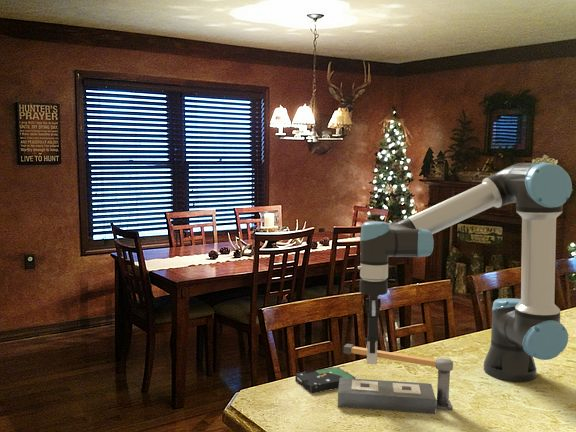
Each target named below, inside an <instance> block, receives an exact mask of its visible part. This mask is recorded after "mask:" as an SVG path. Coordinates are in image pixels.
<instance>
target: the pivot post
mask: <svg viewBox="0 0 576 432" xmlns="http://www.w3.org/2000/svg"><path fill="white" fill-rule="evenodd" d="M450 377H451V371H441V370H438V369H437V389H436V390H437V391H436V407H435V410H439V411H453V405H452V402H451V400H449V399H450Z"/></svg>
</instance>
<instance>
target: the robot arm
mask: <svg viewBox="0 0 576 432" xmlns="http://www.w3.org/2000/svg"><path fill="white" fill-rule="evenodd" d="M572 190H573V185H572V178H571V177H570V175H569V173H568V172H567V171H566V170H565V168H563V167H562V166H560V165H558V164H555V163H550V162H546V161H545V162H544V161H542V162H519V163H514V164H512V165H510V166H507V167H505V168H503V169H501V170H500V171H497V172H495V173H493V174H491V175H489V176H487V177H485V178H483V179H482V181H481V183H480V184H478V185H476V186H473V187H470V188H468V189H466V190H465V191H463V192H461V193H458V194H456V195H453V196H452V197H449V198H447V199H446V200H443V201H441V202H438V203H437V204H435V205H432V206H429V207H428V208H426V209H424V210H422V211H419V212H417V213H415V214H413V215H410V216H408V217H407V218H405V219H402V220H400V221H397V222H395V221H393V222H392V221H391V222H389V223H388V222H386V221H385V222H384V221H374V220H373V221H365V222H363V223H362V224H361V227H360V229H361V230H360V238H359V241H360V242H359V243H360V247H359V248H360V255H359V257H360V259H359V262H360V264H359V265H358V266H357V269H358V270H360V271H359V277H360V279H359V292H360V293H361V294H362V295H367V296H368V297H367V298H365V307H366V317H367V331H366V333H367V335H366V336H367V337H365V339H364V341H365V342H366V343H367V344H366V345H367V347H366V348H367V356H366V364H367V365H378V357H377V350H378V341H379V340H380V335H378V333H379V332H378V331H379V328H378V327H379V317H380V314H381V313H380V312H381V311H380V310H381V309H380V308H381V307H382V306H381V305H382V303H381V298H379V296H384V295H386V294H388V288H389V287H388V283H389V282H388V278H389V258H399V257H400V258H403V257H404V258H423V257H429V256H430V255H432V253H433V251H434V245H435V243H434V236H433V235H434V234H436V233H439V232H440V231H442V230H445V229H448V228H449V227H451V226H454V225H456V224H457V223H460V222H462V221H464V220H466V219H469V218H471V217H474V216H475V215H476V216H477V215H478V214H480V213H482V212H484V211H486V210H488V209H490V208H496V209H499V208H502V207H503V206H506V205H509V204H516V206H515V208H516V209H515V210H516V214H518V215H519V216H520V217H521V261H520V262H521V264H520V265H521V268H520V269H521V270H520V271H521V274H520V275H521V276H520V277H521V279H520V283H521V284H520V298H508V297H507V298H505V297H504V298H497V299H495V300H494V301H493V303H492V308H491V329H490V331H491V332H490V346H489V349H488V351H487V354H486V356H485V359H484V360H483V371H484V372H485V374H488V375H489V376H491V377H493V378H496V379H499V380H503V381H509V382H518V383H519V382H520V383H521V382H530V381H533V380H535V379H536V378H537V367H536V362H535V360H534V358H535V359H537V360H540V361H542V360H544V361H546V360H547V361H548V360H552V359H555V358H556V357H558V356H559V355H560V354H561V353H563V352H564V351H565V349H566V348H567V345H568V342H569V333H568V330H567V328H566V327H565V325H563V323H561V309H560V308H559V307H558V305H556V304H555V298H556V297H555V294H556V293H555V292H556V291H555V289H556V285H555V284H556V239H557V218H558V217H559V216H560V215H561V214H562V213H563V207H564V206H563V205H564V204H565V203H566V202H567V201H568V199H570V197H571V194H572Z"/></svg>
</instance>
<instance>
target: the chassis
mask: <svg viewBox="0 0 576 432" xmlns="http://www.w3.org/2000/svg"><path fill="white" fill-rule="evenodd" d="M436 400H437V397H436V395H435V392H434V388H433V386H432V383H426V382H425V383H424V382H412V381H411V382H410V381H408V382H407V381H398V380H397V381H394V380H382V379H381V380H380V379H367V378H365V379H364V378H356V379H353V378H340V380H339V388H337V407H338V408H345V409H347V408H348V409H361V410H373V411H374V410H375V411H386V412H387V411H389V412H400V413H403V412H404V413H414V414H415V413H416V414H428V415H429V414H430V415H435V414H436V409H435V407H436Z"/></svg>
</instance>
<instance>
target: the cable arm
mask: <svg viewBox="0 0 576 432" xmlns="http://www.w3.org/2000/svg"><path fill="white" fill-rule="evenodd" d="M343 354H346V355H352V354H354V355H355V354H356V355H360V356H361V355H362V356H366V357H367V347H360V346H355V345H354V344H353V343H352V344H351V343H346V344H344V345H343ZM377 359H387V360H389V361H390V360H391V361H397V362H402V363H409V364H416V365H421V366H422V365H423V366H427V367H432V368H435V369H437V371H438V370H441V371H450V372H451V371H453V370H454V361H453V360H451V359H450V358H449V359H448V358H442V357H441V358H436V359H434V358H429V357H422V356H416V355H410V354H403V353H397V352H390V351H384V350H378V349H377Z"/></svg>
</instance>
